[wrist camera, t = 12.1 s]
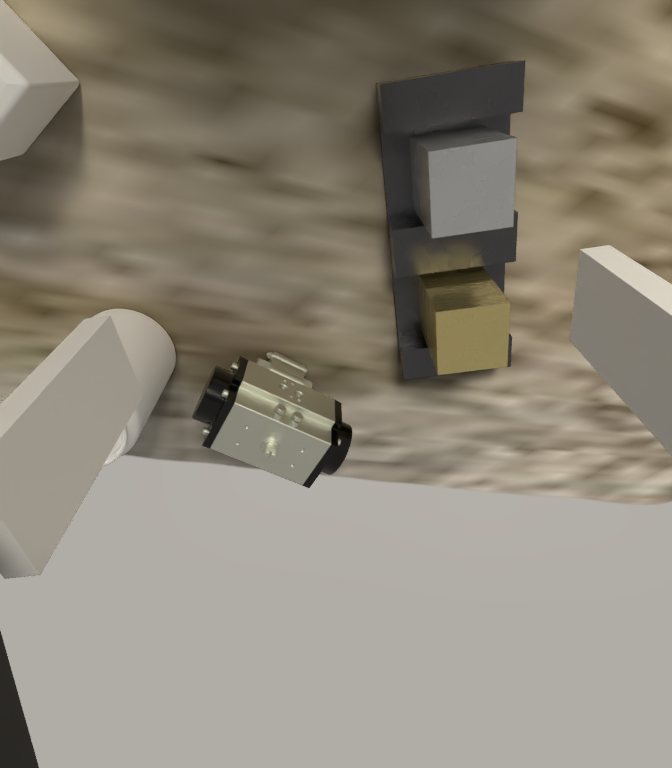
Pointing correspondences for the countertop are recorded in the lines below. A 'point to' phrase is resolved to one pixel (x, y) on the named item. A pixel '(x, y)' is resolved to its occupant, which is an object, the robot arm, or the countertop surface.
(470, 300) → the block
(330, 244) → the countertop surface
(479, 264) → the rack
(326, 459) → the pneumatic valve
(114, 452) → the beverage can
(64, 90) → the medicine bottle
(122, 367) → the robot arm
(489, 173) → the light grey upright block
